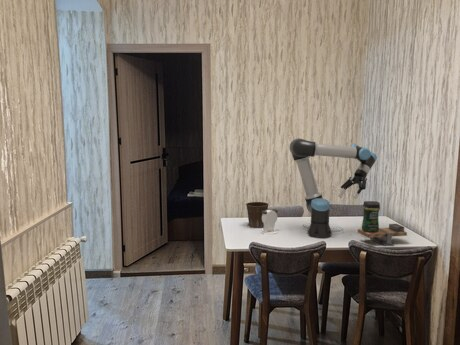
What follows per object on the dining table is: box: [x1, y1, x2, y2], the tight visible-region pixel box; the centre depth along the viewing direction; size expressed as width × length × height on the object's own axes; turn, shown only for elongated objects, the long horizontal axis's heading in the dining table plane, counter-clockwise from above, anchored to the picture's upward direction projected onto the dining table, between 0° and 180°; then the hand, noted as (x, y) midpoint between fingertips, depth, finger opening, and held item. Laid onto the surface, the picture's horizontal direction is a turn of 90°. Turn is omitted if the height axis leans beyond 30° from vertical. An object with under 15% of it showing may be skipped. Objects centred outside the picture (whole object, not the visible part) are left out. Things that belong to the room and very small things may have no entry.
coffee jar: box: [361, 200, 381, 232], centre depth 235 cm, size 10×8×19 cm
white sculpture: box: [260, 208, 279, 235], centre depth 261 cm, size 12×11×15 cm
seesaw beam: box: [357, 223, 408, 239], centre depth 238 cm, size 26×12×5 cm, turn 101°
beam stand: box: [369, 233, 395, 247], centre depth 238 cm, size 6×16×8 cm, turn 12°
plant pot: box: [245, 201, 269, 229], centre depth 276 cm, size 16×16×16 cm
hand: (346, 197), depth 251 cm, fingers open, 13 cm apart
